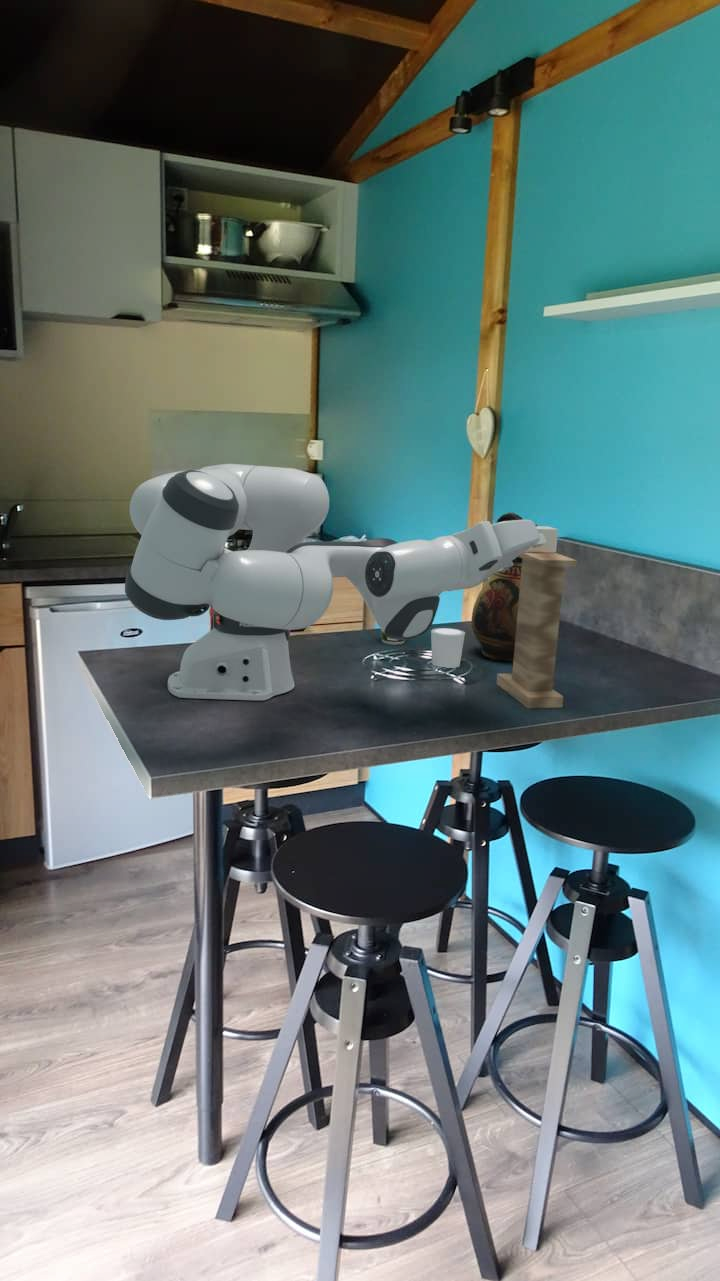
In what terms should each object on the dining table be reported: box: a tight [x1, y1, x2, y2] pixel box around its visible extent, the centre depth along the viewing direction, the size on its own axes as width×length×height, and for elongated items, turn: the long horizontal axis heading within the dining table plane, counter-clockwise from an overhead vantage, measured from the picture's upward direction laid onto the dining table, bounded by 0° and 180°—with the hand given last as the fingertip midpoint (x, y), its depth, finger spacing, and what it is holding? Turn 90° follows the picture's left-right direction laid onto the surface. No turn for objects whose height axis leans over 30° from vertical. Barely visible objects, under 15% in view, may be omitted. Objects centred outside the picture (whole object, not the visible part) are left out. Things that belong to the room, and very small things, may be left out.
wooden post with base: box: [496, 551, 578, 709], centre depth 166 cm, size 6×15×26 cm, turn 13°
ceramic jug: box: [471, 512, 538, 663], centre depth 194 cm, size 17×15×30 cm
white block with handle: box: [526, 525, 559, 553], centre depth 164 cm, size 14×4×4 cm, turn 103°
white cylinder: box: [430, 627, 466, 669], centre depth 186 cm, size 7×7×7 cm
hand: (525, 551), depth 156 cm, fingers open, 8 cm apart
